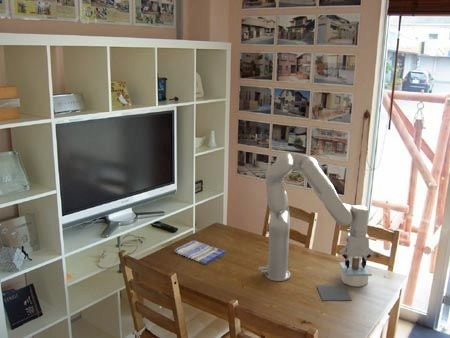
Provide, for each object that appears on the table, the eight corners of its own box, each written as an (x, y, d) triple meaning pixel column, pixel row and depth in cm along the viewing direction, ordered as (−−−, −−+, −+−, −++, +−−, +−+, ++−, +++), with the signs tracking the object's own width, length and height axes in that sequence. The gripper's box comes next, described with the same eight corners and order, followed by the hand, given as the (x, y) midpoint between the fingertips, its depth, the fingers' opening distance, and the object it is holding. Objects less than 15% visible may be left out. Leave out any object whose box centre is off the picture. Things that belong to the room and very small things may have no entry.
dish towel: (194, 243, 265) (194, 238, 264) (226, 254, 251) (226, 250, 250) (172, 253, 252) (172, 248, 251) (205, 266, 238) (205, 261, 237)
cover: (345, 275, 215) (346, 264, 214) (339, 263, 227) (340, 252, 225) (371, 275, 215) (372, 263, 214) (363, 263, 227) (364, 252, 225)
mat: (322, 300, 205) (322, 299, 205) (316, 285, 218) (316, 285, 218) (351, 300, 206) (351, 299, 205) (344, 285, 218) (344, 285, 218)
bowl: (345, 287, 217) (346, 275, 215) (338, 275, 228) (339, 264, 226) (369, 287, 217) (371, 275, 215) (362, 275, 228) (363, 264, 227)
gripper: (341, 235, 212) (339, 270, 217) (379, 235, 212) (376, 270, 217) (337, 229, 219) (335, 263, 224) (374, 228, 220) (370, 263, 224)
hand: (355, 266), depth 221 cm, fingers open, 6 cm apart
